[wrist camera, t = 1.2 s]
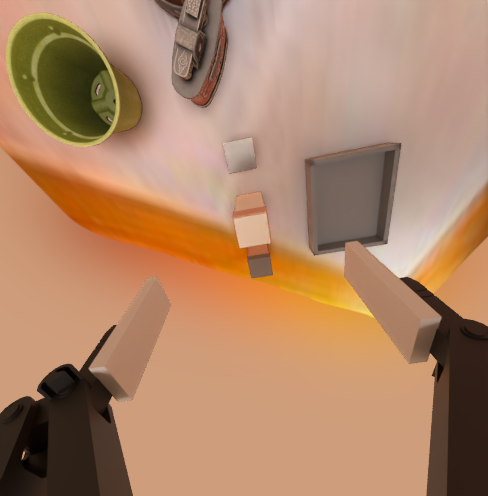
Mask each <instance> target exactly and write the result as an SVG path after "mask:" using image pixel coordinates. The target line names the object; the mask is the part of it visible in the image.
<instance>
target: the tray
mask: <svg viewBox="0 0 488 496" xmlns="http://www.w3.org/2000/svg"><path fill="white" fill-rule="evenodd" d="M400 149H401V143H384V144H379V145H374V146H369V147H364V148H359V149H354V150H349V151H344V152H339V153H334V154H329V155H324V156H319V157H314V158H309V159H305V167H306V187H307V206H308V226H309V245H310V249H311V251H312V253H313V254H314V255H319V254H326V253H332V252H339V251H345V243H347V242H353V241H358V242H359V243H360V244H361V245H362V246H364V247H370V246H377V245H383V244H387V241H388V234H389V227H390V220H391V213H392V206H393V199H394V191H395V184H396V177H397V170H398V163H399V156H400Z"/></svg>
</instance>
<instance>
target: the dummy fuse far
mask: <svg viewBox="0 0 488 496" xmlns="http://www.w3.org/2000/svg"><path fill="white" fill-rule="evenodd" d="M248 264H249V269H250V274H251V278H257V277H263V276H270V275H273V272H272V265H271V259H270V253H269V252H268V247H267V244H262V245H256V246H250V247H248Z"/></svg>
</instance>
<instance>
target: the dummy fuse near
mask: <svg viewBox="0 0 488 496" xmlns="http://www.w3.org/2000/svg"><path fill="white" fill-rule="evenodd" d="M223 147H224V152H225V156H226V161H227V166H228V170H229V174H231V173H236V172H241V171H246V170H251V169H256V168H257V167H256V161H255V154H254V148H253V141H252V137H250V138H245V139H240V140H236V141H231V142H226V143H223Z"/></svg>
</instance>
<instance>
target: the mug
mask: <svg viewBox="0 0 488 496" xmlns="http://www.w3.org/2000/svg"><path fill="white" fill-rule="evenodd" d="M155 1H156V2H157V3H158V4H159V5H160V6H161V7H162V8H163V9H165V10H166V11H168V12H170V13H172V14H173V16H174V17H177V18H180V14H181V10H182V7H183V4H184V2H185V0H155ZM227 1H228V0H222V8H223V6H224V5H225V4H226V2H227Z"/></svg>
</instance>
